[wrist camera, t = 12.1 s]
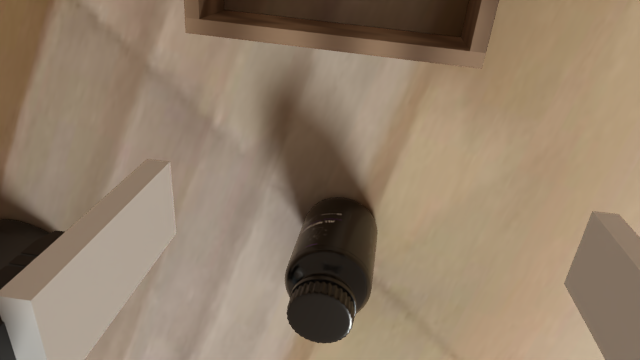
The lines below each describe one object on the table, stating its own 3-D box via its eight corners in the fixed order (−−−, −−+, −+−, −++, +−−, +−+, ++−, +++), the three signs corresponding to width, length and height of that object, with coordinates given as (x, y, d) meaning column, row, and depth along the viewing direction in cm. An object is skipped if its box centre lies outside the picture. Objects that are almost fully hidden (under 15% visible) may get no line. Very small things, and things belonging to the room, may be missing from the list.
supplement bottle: (325, 181, 41) (299, 263, 31) (391, 217, 42) (388, 310, 31) (291, 235, 44) (257, 326, 34) (353, 268, 45) (339, 368, 34)
